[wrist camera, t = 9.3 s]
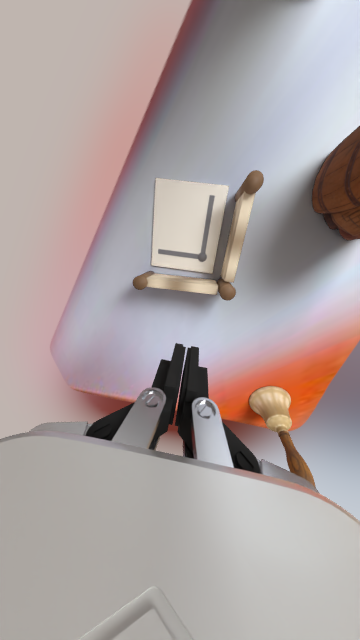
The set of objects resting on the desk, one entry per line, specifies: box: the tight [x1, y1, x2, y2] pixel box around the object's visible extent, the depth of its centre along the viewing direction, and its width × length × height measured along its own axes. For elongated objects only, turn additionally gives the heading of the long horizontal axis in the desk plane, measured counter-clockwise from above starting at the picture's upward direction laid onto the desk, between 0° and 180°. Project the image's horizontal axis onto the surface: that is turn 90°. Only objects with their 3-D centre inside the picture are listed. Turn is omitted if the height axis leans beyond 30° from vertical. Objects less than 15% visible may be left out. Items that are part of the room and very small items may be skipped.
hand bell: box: [249, 386, 316, 488], centre depth 29 cm, size 8×8×16 cm
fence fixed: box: [217, 170, 264, 300], centre depth 23 cm, size 14×2×6 cm, turn 173°
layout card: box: [151, 178, 229, 274], centre depth 25 cm, size 12×10×1 cm
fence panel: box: [133, 271, 218, 295], centre depth 26 cm, size 12×2×6 cm, turn 85°
